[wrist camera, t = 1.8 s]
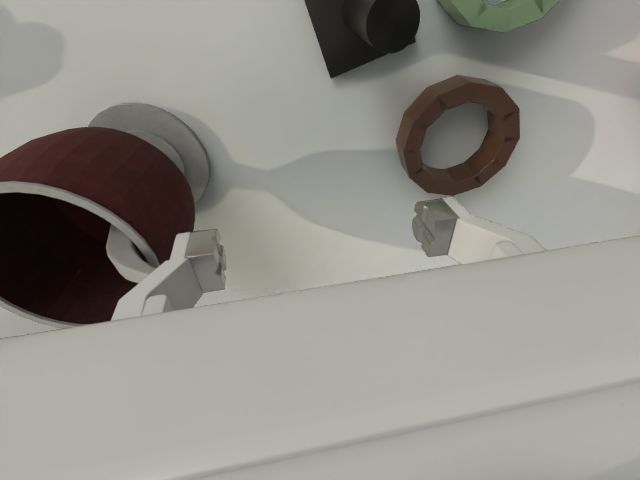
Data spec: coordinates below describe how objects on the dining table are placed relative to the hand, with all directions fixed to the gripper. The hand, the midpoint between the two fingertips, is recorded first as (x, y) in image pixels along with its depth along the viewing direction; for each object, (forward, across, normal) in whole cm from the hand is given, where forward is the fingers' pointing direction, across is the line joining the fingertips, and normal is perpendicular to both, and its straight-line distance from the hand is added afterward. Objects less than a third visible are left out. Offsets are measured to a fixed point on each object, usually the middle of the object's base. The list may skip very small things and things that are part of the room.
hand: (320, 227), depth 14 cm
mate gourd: (+25, +13, +7) cm, 29 cm away
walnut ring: (+21, -18, +6) cm, 28 cm away
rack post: (+23, -8, -6) cm, 24 cm away
